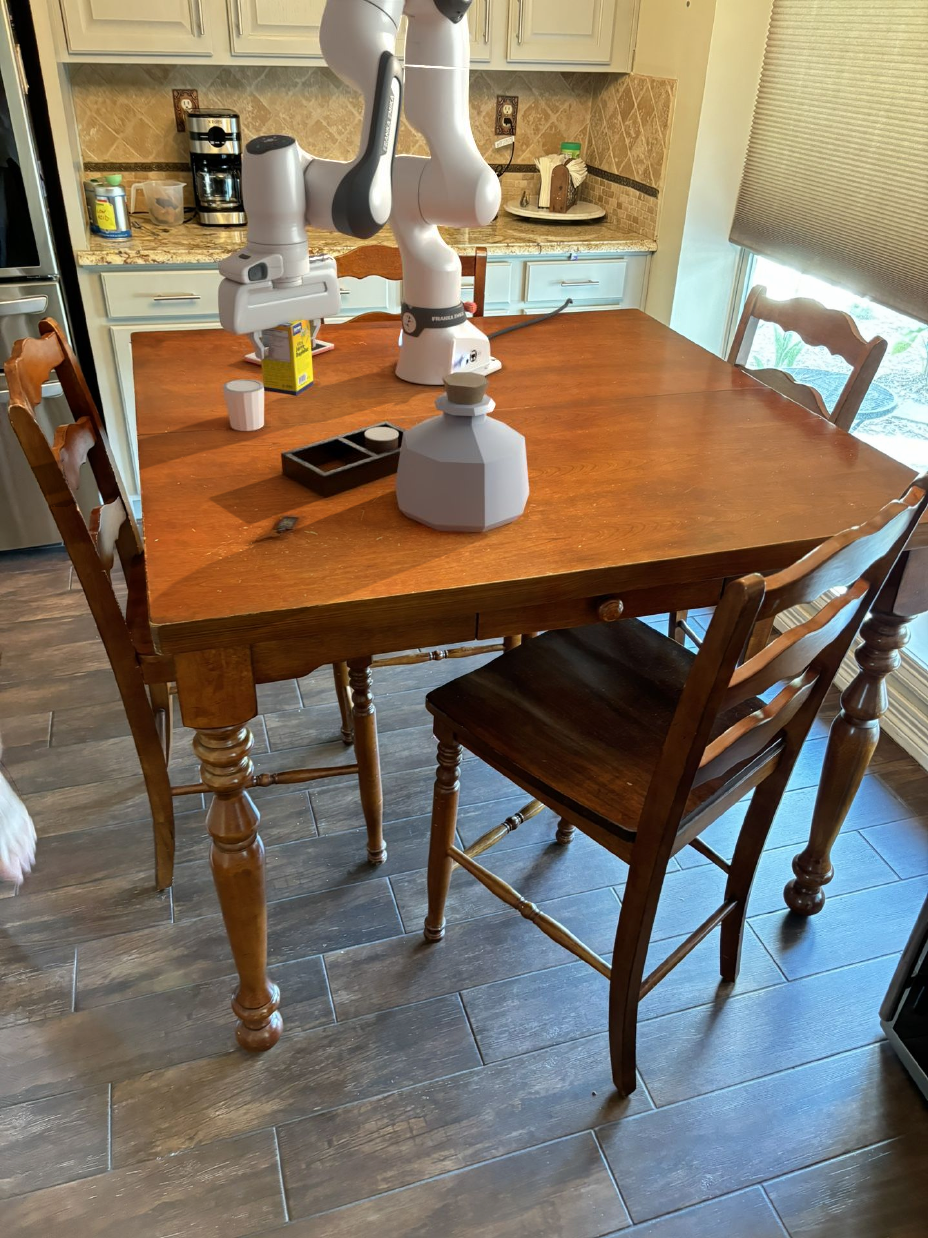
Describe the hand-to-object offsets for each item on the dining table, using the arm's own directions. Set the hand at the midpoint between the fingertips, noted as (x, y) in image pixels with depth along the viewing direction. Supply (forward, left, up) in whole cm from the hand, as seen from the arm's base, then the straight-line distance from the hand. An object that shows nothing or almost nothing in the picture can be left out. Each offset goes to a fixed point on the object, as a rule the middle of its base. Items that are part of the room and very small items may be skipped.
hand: (285, 352), depth 142 cm
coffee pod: (-8, +14, -15) cm, 22 cm away
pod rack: (-3, +14, -15) cm, 21 cm away
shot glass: (+1, -12, -15) cm, 20 cm away
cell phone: (-27, -39, -15) cm, 50 cm away
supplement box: (0, 0, -6) cm, 6 cm away
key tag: (+19, +23, -15) cm, 34 cm away
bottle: (-6, +34, -15) cm, 38 cm away
